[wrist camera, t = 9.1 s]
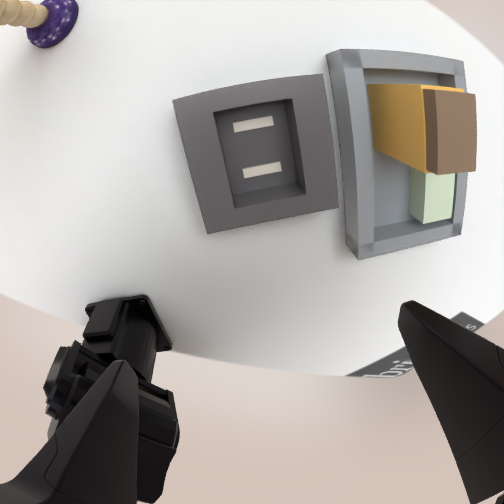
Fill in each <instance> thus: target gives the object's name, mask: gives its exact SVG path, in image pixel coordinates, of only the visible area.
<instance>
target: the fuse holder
mask: <svg viewBox="0 0 504 504" xmlns="http://www.w3.org/2000/svg"><path fill="white" fill-rule="evenodd" d="M172 101H173V105H174V109H175V114H176V118H177V122H178V126H179V130H180V134H181V138H182V142H183V146H184V150H185V154H186V158H187V161H188V165H189V169H190V173H191V177H192V180H193V184H194V188H195V191H196V195H197V199H198V202H199V206H200V210H201V213H202V217H203V220H204V224H205V227H206V231H207V234H211V233H216V232H220V231H225V230H230V229H234V228H239V227H244V226H249V225H254V224H258V223H263V222H268V221H273V220H278V219H283V218H288V217H293V216H298V215H303V214H309V213H314V212H319V211H324V210H330V209H335V208H339V207H338V193H337V180H336V169H335V159H334V150H333V141H332V133H331V125H330V118H329V111H328V104H327V97H326V91H325V85H324V79H323V74H315V75H303V76H293V77H285V78H277V79H270V80H263V81H256V82H250V83H245V84H239V85H234V86H229V87H224V88H219V89H215V90H210V91H206V92H202V93H198V94H194V95H190V96H186V97H182V98H179V99H175V100H172Z"/></svg>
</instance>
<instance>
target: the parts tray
mask: <svg viewBox="0 0 504 504" xmlns="http://www.w3.org/2000/svg"><path fill="white" fill-rule="evenodd" d="M326 57H327V62H328V68H329V73H330V79H331V85H332V91H333V98H334V105H335V112H336V119H337V127H338V135H339V144H340V154H341V164H342V176H343V189H344V205H345V225H346V244H347V245H348V247H349V248H350V250H351V251H352V252H353V254H354V255H355V256H356V258H357V259H358V260H362V259H366V258H370V257H375V256H379V255H383V254H387V253H391V252H395V251H399V250H403V249H407V248H411V247H415V246H419V245H423V244H427V243H431V242H435V241H439V240H442V239H446V238H450V237H454V236H458V235H461V229H462V223H463V216H464V208H465V199H466V189H467V176H468V172H462V173H455V183H454V196H453V206H452V215H451V218H448V219H444V220H439V221H435V222H430V223H426V224H422V223H421V222H420V221H419V220H417V219H416V218H415V217H414V216H412V215H411V214H410V185H411V166H409V165H407V164H405V163H403V162H401V161H398V160H396V159H394V158H392V157H390V156H388V155H385V154H383V153H381V152H379V151H376V150H374V145H373V132H372V121H371V111H370V103H369V95H368V87H367V84H419V85H432V86H443V87H452V88H460V89H464V93H467V89H466V79H465V70H464V63H463V61H460V60H455V59H450V58H445V57H439V56H433V55H426V54H418V53H410V52H400V51H387V50H368V49H339V50H336V51H334V52H331V53H328V54H326Z"/></svg>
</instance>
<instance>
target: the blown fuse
mask: <svg viewBox="0 0 504 504" xmlns="http://www.w3.org/2000/svg"><path fill="white" fill-rule="evenodd" d="M367 87H368V95H369V103H370V111H371V121H372V132H373V145H374V150H376V151H379V152H381V153H383V154H385V155H388V156H390V157H392V158H394V159H396V160H398V161H401V162H403V163H405V164H407V165H409V166H411V167H413V168H415V169H417V170H419V171H421V172H423V173H434V174H436V175H444V174H453V173H462V172H472V171H476V149H477V120H476V99H475V94H470V93H464V89H460V88H452V87H443V86H432V85H419V84H367Z"/></svg>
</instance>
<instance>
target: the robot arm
mask: <svg viewBox="0 0 504 504" xmlns="http://www.w3.org/2000/svg"><path fill="white" fill-rule="evenodd" d="M141 300H143V301H145V302H142V301H141ZM85 311H86V313H87V315H88V316H89V318H90V319H89V321H88V324H87V326H86V328H85V330H84V332H83V337H84V340H83V343H82V345H81V343H79V342H77V341H76V340H75V341H74V342H73V344H72V346H71V347H70V346H69V347H60V348H59V351H58V352H57V355H56V357H55V359H54V362H53V364H52V366H51V368H50V371H49V374H48V376H47V379H46V381H45V384H44V387H43V389H44V391H45V394H46V396H47V399H46V403H47V407H46V412H45V413H46V414H47V415H49V416H51V417H52V420H51V423H50V426H49V429H48V442H47V443H46V444H45V445H44V446H43V448H42V449H41V450H40V451H39V452H38V453H37V455H36V456H35V457H34V458H33V459H32V460H31V461H30V462H29V463H28V464H27V465H26V466H25V467H24V469H23V470H22V471H21V472H20V473H19V474H18V475H17V476H16V477H15V478H14V479H12V480H11V481H9V482H7V483H3V484H0V504H137V502H138V501H141V502H145V503H149V504H153V503H155V501H156V500H157V499H158V498H159V497H160V496H161V495H162V491H163V486H164V481H165V477H166V472H167V470H168V467H169V465H170V462H171V460H172V458H173V456H174V455H175V453H176V449H177V446H178V442H179V436H180V430H179V424H178V419H177V413H176V408H175V402H174V396H173V392H171V391H169V390H164V389H161V388H160V387H158V386H155V385H153V384H151V379H152V374H153V368H154V363H155V357H156V352H162V351H169V350H171V349H172V343H171V341H170V339H169V337H168V335H167V333H166V331H165V330H164V328H163V326H162V324H161V322H160V320H159V318H158V316H157V314H156V312H155V310H154V308H153V306H152V304H151V302H150V300H149V298H148V297H147V296H146V295H137V296H132V297H126V298H117V299H111V300H106V301H100V302H97V303H92V304H88V305H87V306H86V308H85ZM398 327H399V330H400V333H401V335H402V338H403V340H404V343H405V345H406V348H407V351H408V353H409V356H410V359H411V361H412V364H413V366H414V368H415V370H416V372H417V374H418V376H419V378H420V380H421V382H422V384H423V387H424V389H425V391H426V393H427V395H428V397H429V399H430V401H431V403H432V406H433V408H434V410H435V412H436V415H437V417H438V419H439V421H440V424H441V426H442V428H443V431H444V433H445V435H446V438H447V440H448V443H449V445H450V447H451V450H452V453H453V455H454V458H455V460H456V463H457V466H458V469H459V472H460V475H461V477H462V480H463V483H464V486H465V489H466V492H467V495H468V498H469V501H470V504H477V503H479V502H481V501H484V500H486V499H488V498H490V497H492V496H494V495H496V494H498V493H500V492H501V491H503V490H504V349H503V348H501V347H499V346H496V345H495V344H494V343H492V342H490V341H488V340H487V339H485V338H483V337H481V336H479V335H478V334H476V333H474V332H472V331H470V330H468V329H467V328H465V327H463V326H461V325H459V324H457V323H455V322H454V321H452V320H450V319H448V318H446V317H444V316H442V315H441V314H439V313H437V312H435V311H433V310H431V309H429V308H427V307H425V306H423V305H421V304H420V303H418V302H416V301H413V300H411V301H408V302H405V303H403V304H402V305H401V307H400V313H399V318H398ZM166 345H167V346H166ZM495 504H504V493H503V494H502V495H500V496H499V497H498V498H497V500H496V503H495Z"/></svg>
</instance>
